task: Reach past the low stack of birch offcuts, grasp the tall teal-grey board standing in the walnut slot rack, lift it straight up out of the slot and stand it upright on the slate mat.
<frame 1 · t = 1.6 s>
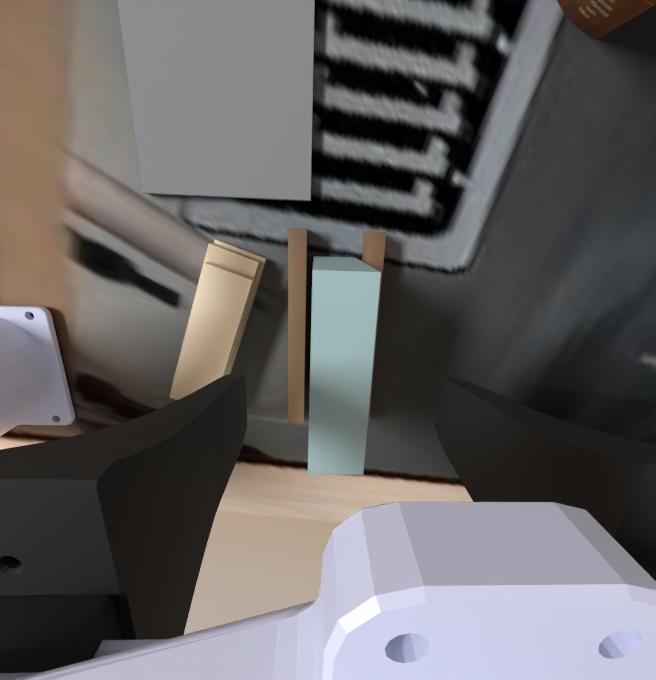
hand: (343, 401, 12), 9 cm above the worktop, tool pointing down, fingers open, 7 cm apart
offcut planks: (221, 324, 21), on the worktop
slate mat: (224, 79, 16), on the worktop
walnut rack: (331, 329, 21), on the worktop
tall board: (331, 328, 21), on the worktop
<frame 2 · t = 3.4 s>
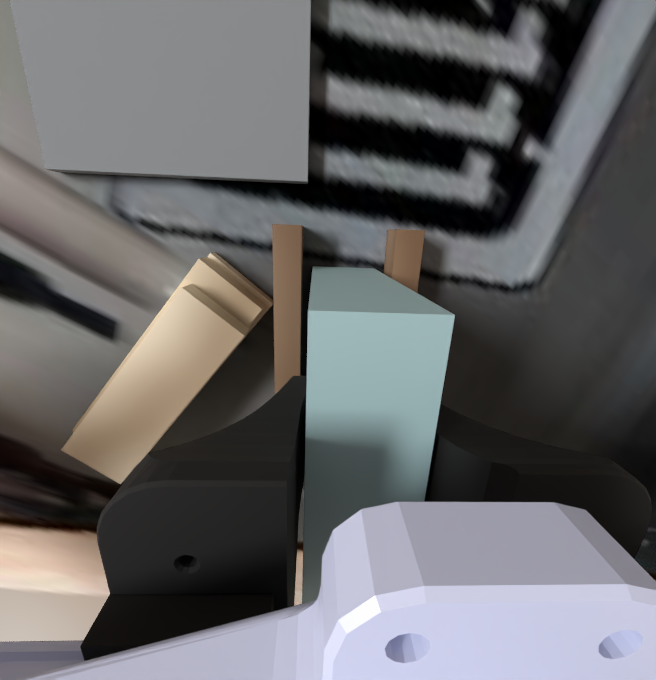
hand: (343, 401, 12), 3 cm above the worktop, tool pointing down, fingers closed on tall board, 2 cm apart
offcut planks: (179, 361, 14), on the worktop
walnut rack: (338, 369, 14), on the worktop
tall board: (338, 369, 14), on the worktop, touching gripper
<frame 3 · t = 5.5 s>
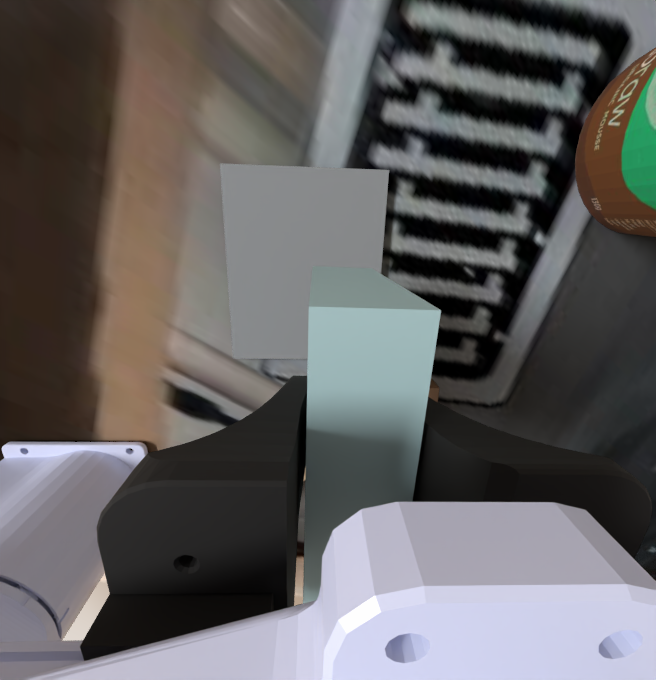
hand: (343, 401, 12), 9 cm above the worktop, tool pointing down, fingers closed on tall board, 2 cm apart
slate mat: (305, 270, 19), on the worktop
food container: (612, 131, 18), on the worktop
tall board: (337, 365, 15), point 6 cm above the worktop, touching gripper
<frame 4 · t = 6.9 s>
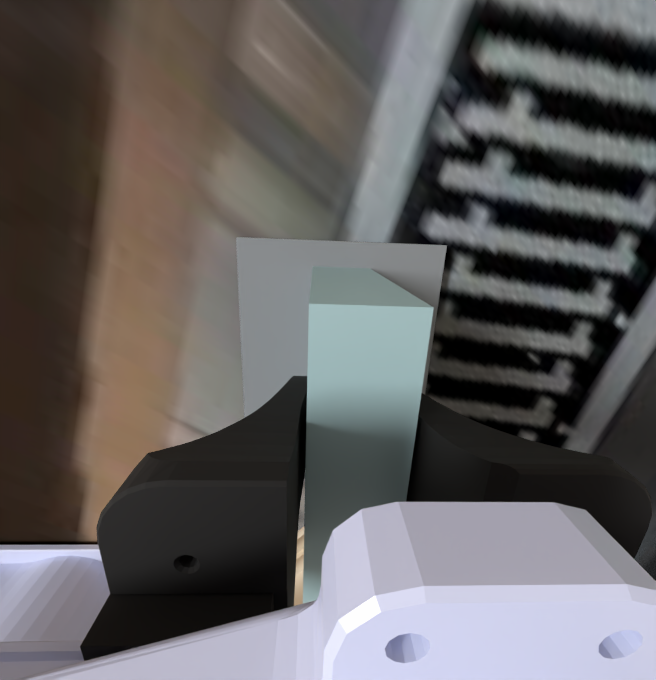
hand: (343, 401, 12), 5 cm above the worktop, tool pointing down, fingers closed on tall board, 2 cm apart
offcut planks: (306, 545, 20), on the worktop
slate mat: (336, 357, 16), on the worktop
tall board: (336, 363, 15), point 1 cm above the worktop, touching gripper, slate mat
when the fingers open (5 cm above the worktop, at t = 7.5 s): tall board stays where it is, resting on slate mat.
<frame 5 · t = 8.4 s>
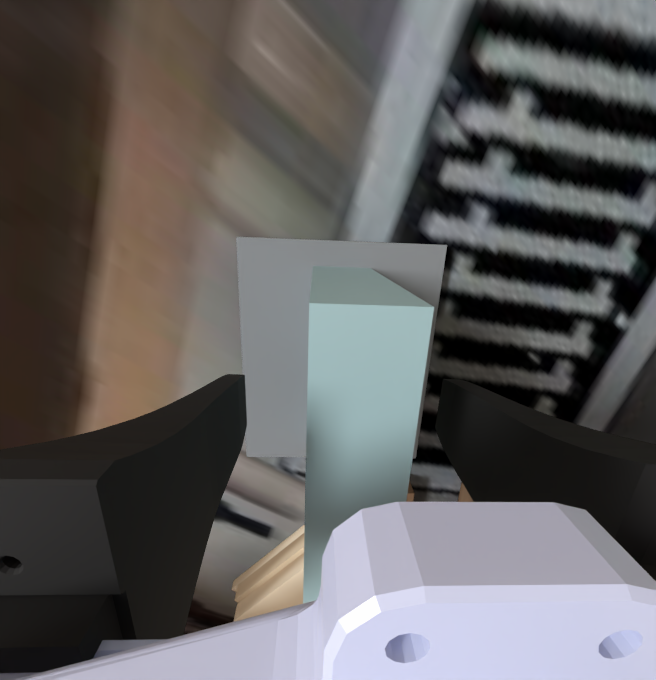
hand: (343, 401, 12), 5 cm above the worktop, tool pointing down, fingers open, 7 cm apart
offcut planks: (305, 545, 20), on the worktop
slate mat: (336, 356, 16), on the worktop
tall board: (336, 362, 15), point 1 cm above the worktop, touching slate mat
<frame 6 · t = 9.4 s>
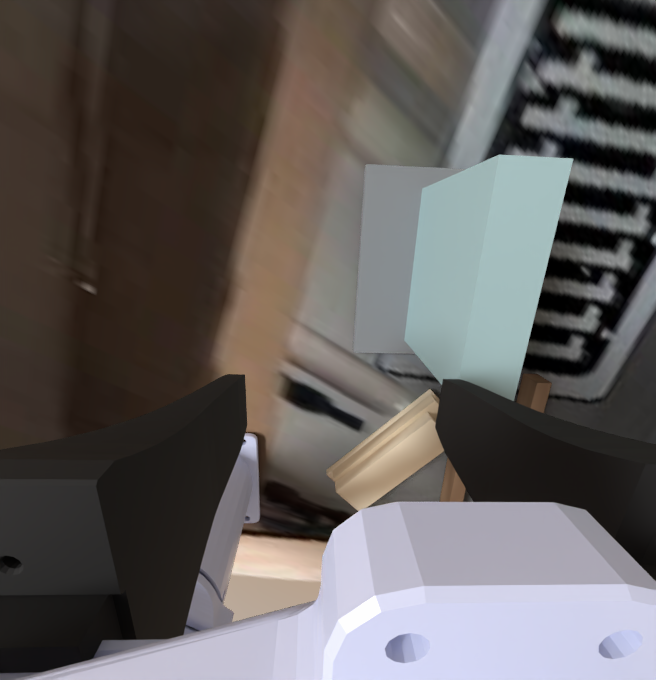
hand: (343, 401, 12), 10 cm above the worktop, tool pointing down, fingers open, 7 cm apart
offcut planks: (387, 440, 24), on the worktop
slate mat: (429, 268, 20), on the worktop
walnut rack: (484, 445, 24), on the worktop
tall board: (432, 270, 19), point 1 cm above the worktop, touching slate mat
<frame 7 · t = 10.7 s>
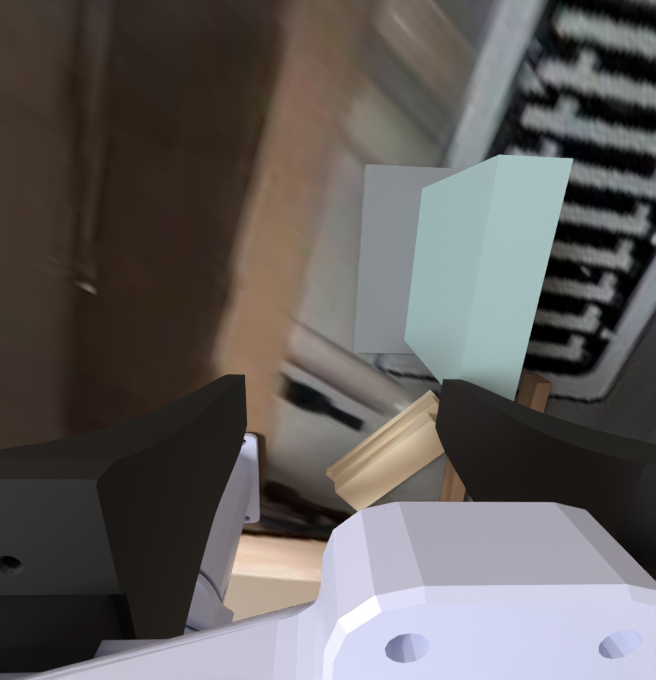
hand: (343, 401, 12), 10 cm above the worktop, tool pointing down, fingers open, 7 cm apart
offcut planks: (387, 440, 24), on the worktop
slate mat: (429, 268, 20), on the worktop
walnut rack: (484, 445, 24), on the worktop
tall board: (432, 270, 19), point 1 cm above the worktop, touching slate mat
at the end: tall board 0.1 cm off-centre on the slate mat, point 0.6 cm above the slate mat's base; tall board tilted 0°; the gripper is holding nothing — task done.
